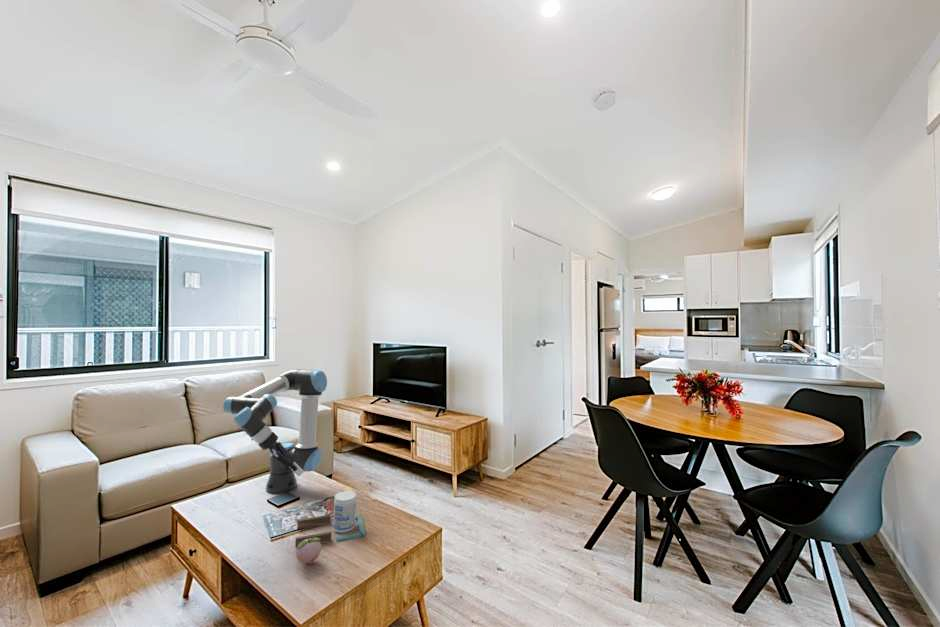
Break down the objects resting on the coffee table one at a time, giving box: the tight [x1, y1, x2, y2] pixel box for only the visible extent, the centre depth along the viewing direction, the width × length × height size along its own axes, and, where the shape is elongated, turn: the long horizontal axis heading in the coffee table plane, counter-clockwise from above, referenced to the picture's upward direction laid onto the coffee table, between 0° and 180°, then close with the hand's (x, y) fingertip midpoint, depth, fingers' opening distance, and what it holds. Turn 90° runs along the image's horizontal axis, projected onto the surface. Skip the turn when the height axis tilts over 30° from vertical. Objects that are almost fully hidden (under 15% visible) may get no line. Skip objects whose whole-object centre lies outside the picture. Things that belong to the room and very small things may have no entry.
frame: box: [335, 514, 366, 542], centre depth 176 cm, size 17×12×1 cm
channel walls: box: [294, 514, 333, 549], centre depth 171 cm, size 16×14×4 cm
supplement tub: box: [332, 490, 357, 534], centre depth 176 cm, size 10×10×15 cm
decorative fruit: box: [295, 537, 322, 565], centre depth 151 cm, size 9×8×10 cm
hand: (301, 473), depth 178 cm, fingers closed
